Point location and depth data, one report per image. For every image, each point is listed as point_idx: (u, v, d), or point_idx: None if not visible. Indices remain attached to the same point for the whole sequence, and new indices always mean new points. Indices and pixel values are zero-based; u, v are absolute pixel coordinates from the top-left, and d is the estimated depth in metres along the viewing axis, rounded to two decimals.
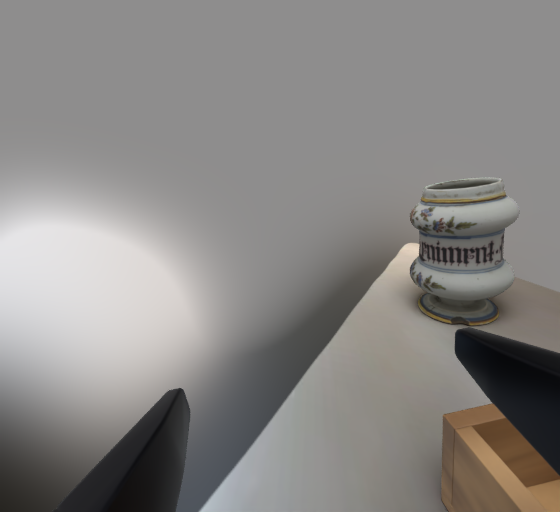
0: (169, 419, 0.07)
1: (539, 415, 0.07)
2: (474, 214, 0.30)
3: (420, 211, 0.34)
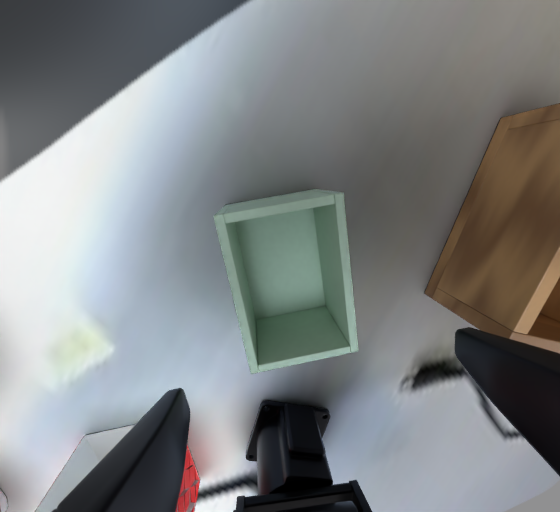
0: (169, 419, 0.07)
1: (540, 415, 0.07)
2: None
3: None
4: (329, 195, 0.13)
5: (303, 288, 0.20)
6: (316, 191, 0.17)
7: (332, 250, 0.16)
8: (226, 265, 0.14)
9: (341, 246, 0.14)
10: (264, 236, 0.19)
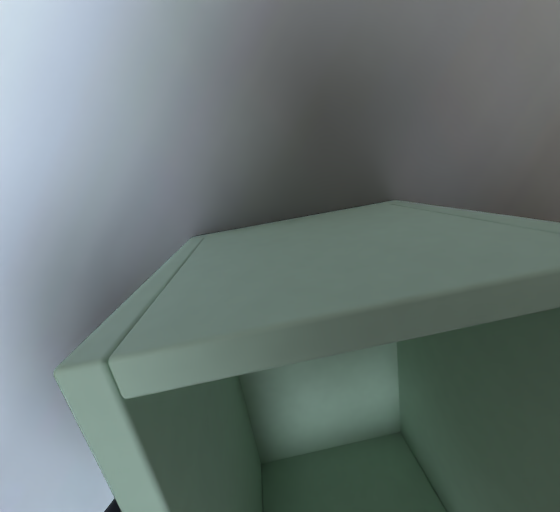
0: None
1: None
2: None
3: None
4: None
5: (359, 403, 0.10)
6: (423, 210, 0.06)
7: (497, 394, 0.05)
8: None
9: None
10: None
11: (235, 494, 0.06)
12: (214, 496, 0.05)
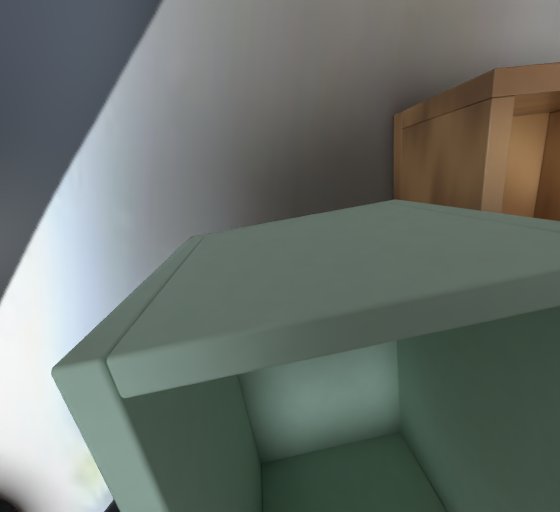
0: None
1: None
2: None
3: None
4: None
5: (359, 403, 0.10)
6: (423, 209, 0.06)
7: (497, 393, 0.05)
8: None
9: None
10: None
11: (235, 494, 0.06)
12: (213, 496, 0.05)
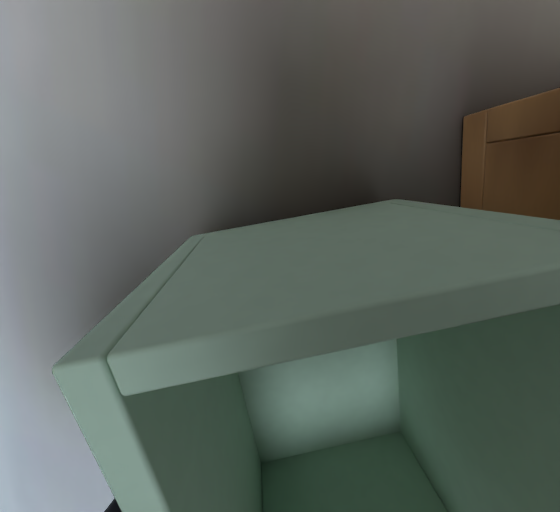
0: None
1: None
2: None
3: None
4: None
5: (359, 403, 0.10)
6: (423, 208, 0.06)
7: (497, 392, 0.05)
8: None
9: None
10: None
11: (235, 493, 0.06)
12: (213, 494, 0.05)
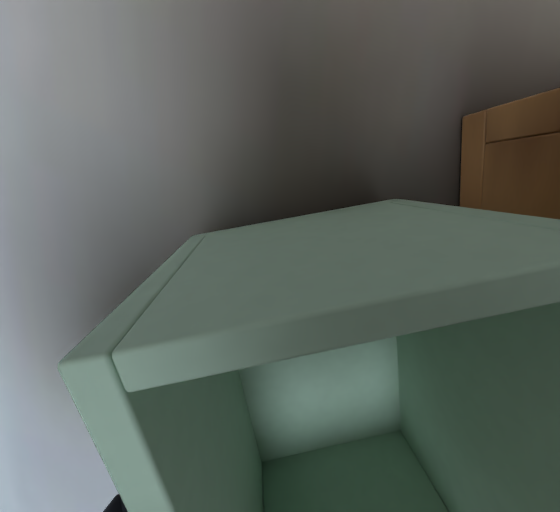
0: None
1: None
2: None
3: None
4: None
5: (359, 402, 0.10)
6: (423, 208, 0.06)
7: (497, 390, 0.05)
8: None
9: None
10: None
11: (236, 491, 0.06)
12: (215, 492, 0.05)
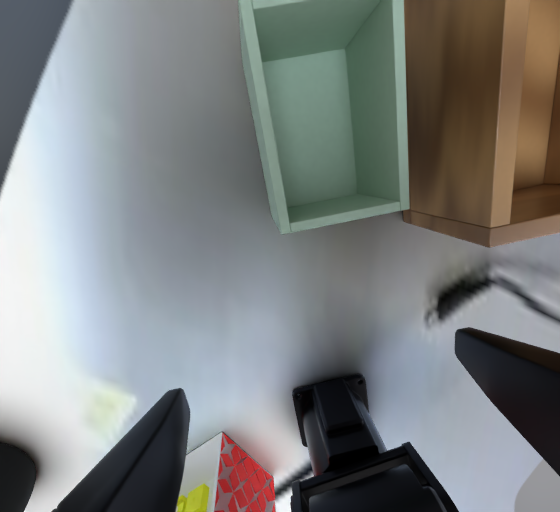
0: (169, 419, 0.07)
1: (539, 416, 0.07)
2: None
3: None
4: None
5: (332, 170, 0.18)
6: None
7: (378, 82, 0.13)
8: (253, 73, 0.11)
9: (396, 53, 0.11)
10: (288, 99, 0.16)
11: None
12: None
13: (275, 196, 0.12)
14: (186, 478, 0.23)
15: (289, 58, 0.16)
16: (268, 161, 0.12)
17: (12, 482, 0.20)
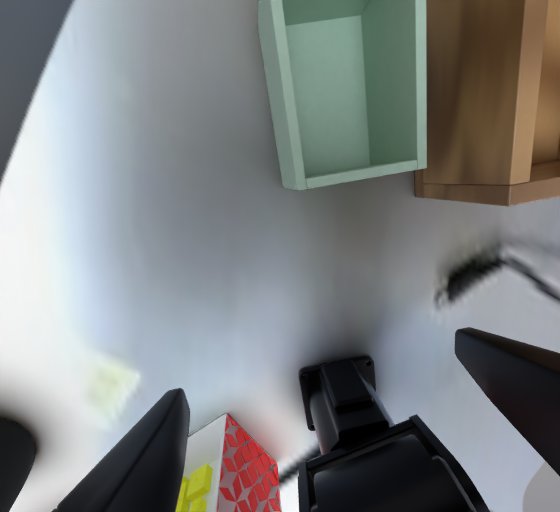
0: (169, 419, 0.07)
1: (539, 415, 0.07)
2: None
3: None
4: None
5: (345, 140, 0.18)
6: None
7: (396, 39, 0.13)
8: (274, 19, 0.11)
9: (417, 3, 0.11)
10: (303, 65, 0.16)
11: None
12: None
13: (292, 149, 0.12)
14: (188, 460, 0.23)
15: (305, 23, 0.16)
16: (286, 112, 0.12)
17: (11, 456, 0.19)
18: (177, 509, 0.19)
